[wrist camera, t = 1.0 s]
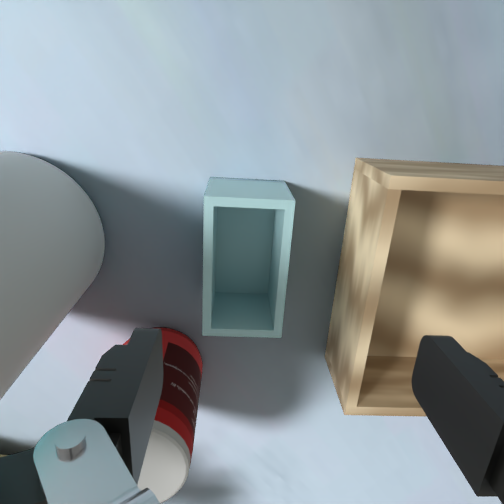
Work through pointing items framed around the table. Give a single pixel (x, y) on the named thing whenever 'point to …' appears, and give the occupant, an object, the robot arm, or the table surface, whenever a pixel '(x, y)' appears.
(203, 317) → the small crate
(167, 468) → the canned food
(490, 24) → the table surface
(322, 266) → the table surface
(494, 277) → the large crate
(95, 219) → the cylinder vase
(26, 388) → the table surface
